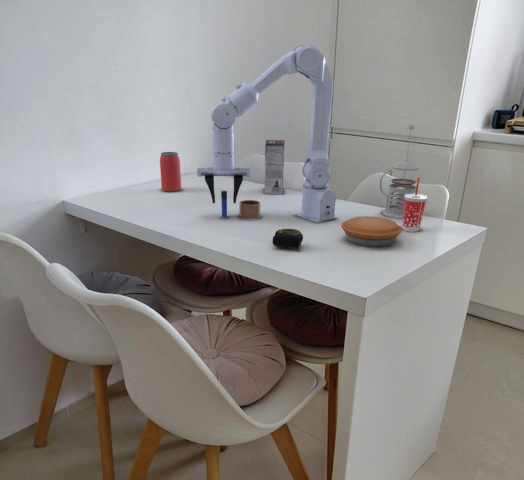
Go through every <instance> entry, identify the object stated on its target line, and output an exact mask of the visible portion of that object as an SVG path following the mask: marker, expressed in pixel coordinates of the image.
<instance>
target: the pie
mask: <svg viewBox="0 0 524 480" xmlns="http://www.w3.org/2000/svg"><path fill="white" fill-rule="evenodd" d="M402 227H403V226H401V225H399V224H398V223H397V222H395V221H394V220H392V219H388V218H384V217H380V216H369V215H367V216H365V215H364V216H355V217H351V218H349V219H347V220H344V221H343V222H342V223H341V225H340V228H341V229H342V231H344V234H345V236H346V238H347V240H348V241H349V242H350V243H352V244H355V245H357V246H362V247H367V248H368V247H369V248H380V247H381V248H382V247H387V246H389V245H392V243H394V241H395V240H396V238H397V237H398V236H400V234H401V233H402V232H404V230H403V229H402Z"/></svg>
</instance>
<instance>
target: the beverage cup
mask: <svg viewBox="0 0 524 480" xmlns="http://www.w3.org/2000/svg"><path fill="white" fill-rule="evenodd" d="M420 179H421V178H420V176H417V180H416V185H415V186H416V192H415V194H406V195H404V199H405V203H404V215H403V218H402V226H401V227H402V229H403V231H406V232H409V233H411V232H412V233H413V232H414V233H415V232H420V230H421V229H420V228H421V225H422V221H423V215H424V211H425V207H426V203H427V201H428V196H427V195H425V194H421V193H418V192H419V191H418V190H419V185H420Z"/></svg>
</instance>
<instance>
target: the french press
mask: <svg viewBox="0 0 524 480" xmlns="http://www.w3.org/2000/svg"><path fill="white" fill-rule="evenodd" d="M407 130H409V137H408V144H407V150H406V158H405V160H400V161H397V162H395V163H393V164H391V165H390V166H391V168H392V169H394V170H398V171H404V172H403V178H401V177H400V178H399V177H398V178H397V177H395V178H391V180H390V181H391V184H389V187H388V193H386V192H385V191H384V190H383V187H382V183H383V182H382V181H383V178H384V176H385V175H387V173H389V175H390V177H392V175H393V170H392V169H389V170H387V171H385V172H384V173H383V175H381V178H380V180H379V190H380V193H381V194H382V195H383V196H385V197H386V206H385V210H383V211H382V214H383V215H384V216H386V217H390V218H394V219H403V215H404V203H405V199H404V195H406V194H415V193H416V186H417V185H415V184H417V180H414V179H410V178H405V175H406V172H408V171H409V172H416V171H419V170H420V169H421V167H420V165H418V163H415V162H413V161H410V160H408V156H409V155H408V154H409V147H410V140H411V135H412V134H411V133H412V131H413V130H415V125H414V124H409V125H408V126H407Z"/></svg>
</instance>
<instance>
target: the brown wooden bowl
mask: <svg viewBox="0 0 524 480" xmlns="http://www.w3.org/2000/svg"><path fill="white" fill-rule="evenodd" d="M238 204H239V206H238V207H239V209H238V210H239V212H238V213H239V217H240V218H243V219H257V218H260V217H261V202H260V201H258V200H254V199H244V200H240V201H239V203H238Z"/></svg>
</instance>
